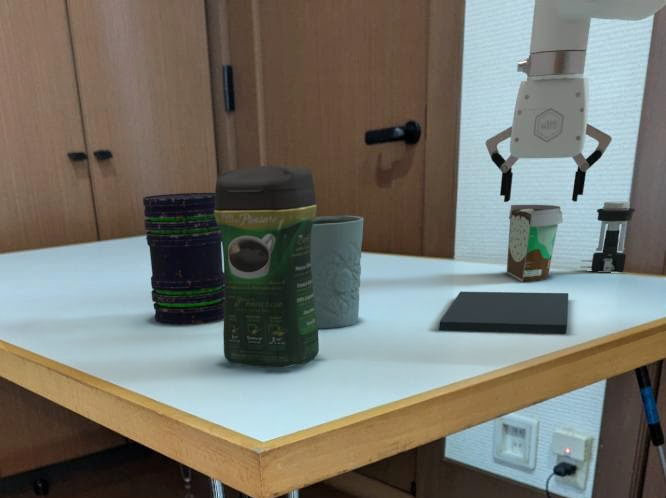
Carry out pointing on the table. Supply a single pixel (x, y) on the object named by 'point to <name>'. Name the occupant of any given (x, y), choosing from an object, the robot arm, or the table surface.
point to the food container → (532, 240)
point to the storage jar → (185, 258)
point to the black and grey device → (611, 237)
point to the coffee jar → (267, 265)
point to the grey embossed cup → (336, 269)
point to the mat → (507, 312)
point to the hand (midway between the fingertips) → (540, 200)
